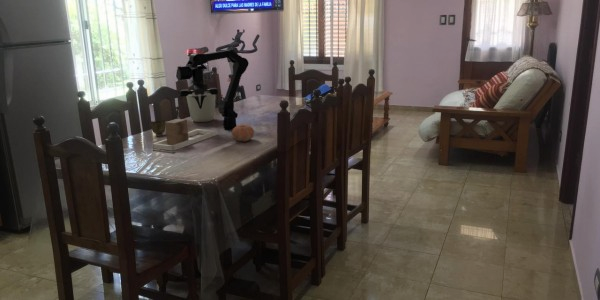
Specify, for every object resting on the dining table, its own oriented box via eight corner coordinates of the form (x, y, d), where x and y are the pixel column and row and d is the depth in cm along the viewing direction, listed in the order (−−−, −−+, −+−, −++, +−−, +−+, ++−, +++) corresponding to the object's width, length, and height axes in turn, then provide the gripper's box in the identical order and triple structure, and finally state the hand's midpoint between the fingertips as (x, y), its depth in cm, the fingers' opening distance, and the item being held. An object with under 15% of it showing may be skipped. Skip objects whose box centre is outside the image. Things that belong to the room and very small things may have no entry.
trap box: (198, 135, 244) (197, 129, 243) (216, 137, 239) (216, 130, 238) (153, 151, 217) (152, 143, 216) (173, 153, 212) (172, 146, 211)
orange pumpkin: (234, 144, 225) (232, 128, 223) (231, 139, 235) (229, 123, 233) (256, 142, 227) (255, 126, 225) (252, 137, 238) (251, 121, 235)
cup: (169, 135, 248) (168, 120, 246) (161, 138, 241) (159, 123, 239) (157, 134, 250) (155, 119, 248) (149, 137, 243) (147, 122, 241)
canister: (212, 123, 272) (209, 87, 267) (182, 123, 275) (179, 87, 270) (222, 117, 289) (220, 83, 284) (194, 117, 292) (191, 83, 287)
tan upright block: (179, 141, 227) (176, 118, 225) (188, 142, 225) (186, 119, 222) (167, 145, 221) (164, 122, 218) (177, 146, 218) (175, 123, 215)
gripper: (178, 81, 233) (181, 112, 237) (217, 79, 237) (219, 110, 241) (179, 78, 243) (182, 108, 248) (216, 76, 247) (218, 106, 251)
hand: (200, 108), depth 246 cm, fingers closed
